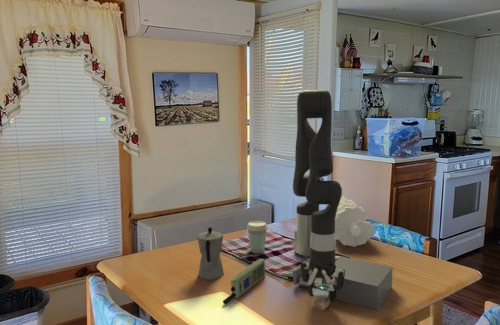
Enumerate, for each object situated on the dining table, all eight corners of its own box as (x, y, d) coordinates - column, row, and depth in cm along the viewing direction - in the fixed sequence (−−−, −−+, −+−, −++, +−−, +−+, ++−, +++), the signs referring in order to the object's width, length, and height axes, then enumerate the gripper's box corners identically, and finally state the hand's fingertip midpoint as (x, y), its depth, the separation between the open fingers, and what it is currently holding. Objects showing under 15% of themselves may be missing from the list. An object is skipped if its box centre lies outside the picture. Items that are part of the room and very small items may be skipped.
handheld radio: (266, 277, 147) (229, 307, 126) (258, 275, 149) (220, 305, 128) (265, 259, 147) (228, 286, 125) (257, 258, 148) (219, 285, 127)
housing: (321, 295, 133) (321, 273, 132) (340, 276, 147) (341, 256, 146) (376, 309, 123) (377, 286, 122) (391, 288, 137) (392, 266, 136)
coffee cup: (271, 249, 174) (270, 222, 172) (260, 256, 167) (260, 227, 165) (254, 246, 178) (253, 219, 177) (243, 252, 171) (242, 224, 169)
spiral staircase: (345, 258, 174) (329, 236, 198) (382, 240, 173) (362, 220, 198) (327, 222, 170) (314, 204, 194) (366, 203, 169) (347, 187, 194)
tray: (291, 283, 138) (291, 269, 137) (313, 266, 153) (313, 253, 152) (342, 297, 128) (342, 282, 127) (360, 277, 143) (361, 263, 142)
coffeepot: (200, 267, 156) (199, 222, 153) (225, 267, 156) (224, 222, 153) (195, 285, 141) (193, 235, 138) (222, 285, 141) (221, 235, 138)
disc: (308, 295, 124) (309, 288, 124) (317, 287, 129) (317, 281, 129) (327, 300, 121) (327, 293, 121) (335, 292, 126) (335, 286, 126)
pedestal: (314, 307, 125) (314, 295, 124) (320, 301, 128) (320, 289, 128) (323, 310, 123) (324, 297, 122) (329, 304, 127) (329, 292, 126)
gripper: (295, 245, 124) (295, 297, 126) (341, 254, 116) (339, 309, 118) (306, 238, 130) (306, 287, 132) (350, 246, 122) (348, 299, 124)
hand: (322, 297), depth 125 cm, fingers closed on disc, 6 cm apart
